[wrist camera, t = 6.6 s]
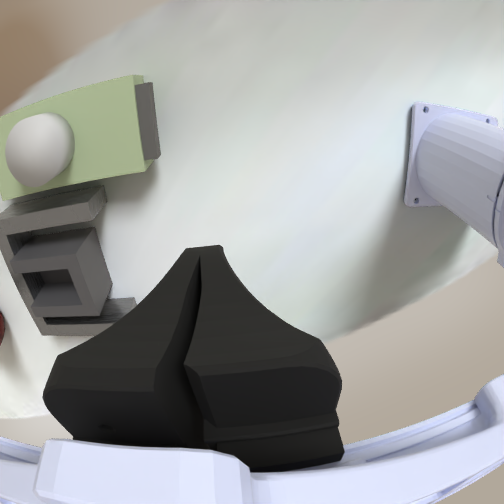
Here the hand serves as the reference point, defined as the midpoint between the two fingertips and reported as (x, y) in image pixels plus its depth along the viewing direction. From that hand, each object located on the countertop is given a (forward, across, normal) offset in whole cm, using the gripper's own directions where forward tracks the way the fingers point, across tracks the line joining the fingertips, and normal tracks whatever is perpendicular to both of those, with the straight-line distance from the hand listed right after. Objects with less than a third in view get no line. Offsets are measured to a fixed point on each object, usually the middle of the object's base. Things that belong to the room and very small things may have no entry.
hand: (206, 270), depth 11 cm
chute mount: (+10, +11, +4) cm, 15 cm away
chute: (+10, +12, +4) cm, 16 cm away
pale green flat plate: (+10, +9, -5) cm, 14 cm away
